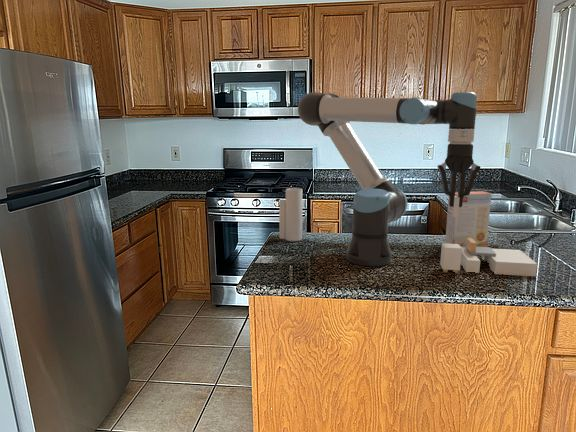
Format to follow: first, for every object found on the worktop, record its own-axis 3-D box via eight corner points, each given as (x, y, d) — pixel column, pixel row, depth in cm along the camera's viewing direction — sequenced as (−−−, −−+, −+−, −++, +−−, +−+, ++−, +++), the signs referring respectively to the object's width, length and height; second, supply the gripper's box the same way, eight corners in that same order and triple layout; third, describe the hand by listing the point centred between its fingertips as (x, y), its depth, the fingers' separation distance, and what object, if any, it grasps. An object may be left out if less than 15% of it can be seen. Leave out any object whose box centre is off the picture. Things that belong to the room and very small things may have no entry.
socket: (466, 272, 135) (467, 260, 134) (456, 257, 150) (457, 246, 149) (535, 276, 132) (537, 263, 131) (518, 261, 146) (519, 249, 145)
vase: (305, 239, 172) (306, 189, 168) (291, 242, 168) (291, 191, 163) (287, 233, 181) (287, 186, 176) (273, 236, 176) (273, 187, 172)
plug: (442, 273, 134) (444, 247, 133) (439, 267, 139) (441, 243, 137) (459, 274, 134) (462, 248, 132) (456, 268, 138) (458, 244, 137)
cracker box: (477, 244, 167) (482, 190, 162) (486, 248, 161) (492, 193, 156) (443, 245, 164) (448, 191, 160) (452, 250, 158) (457, 193, 154)
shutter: (470, 254, 139) (471, 243, 139) (465, 248, 147) (466, 237, 146) (495, 256, 138) (497, 244, 137) (489, 249, 145) (490, 238, 145)
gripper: (441, 143, 134) (435, 218, 139) (485, 143, 132) (478, 219, 137) (436, 142, 141) (432, 213, 146) (479, 142, 139) (472, 214, 144)
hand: (454, 216), depth 141 cm, fingers closed
